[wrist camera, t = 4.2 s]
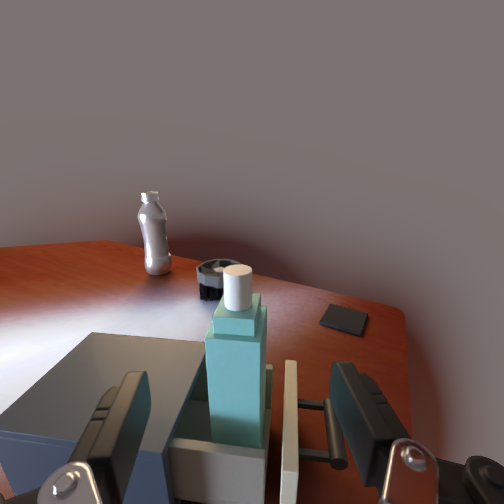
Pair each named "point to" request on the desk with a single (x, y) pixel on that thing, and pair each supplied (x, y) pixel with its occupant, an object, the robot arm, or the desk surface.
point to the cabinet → (85, 401)
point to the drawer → (245, 449)
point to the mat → (344, 319)
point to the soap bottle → (237, 362)
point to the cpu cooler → (212, 277)
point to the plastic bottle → (154, 234)
